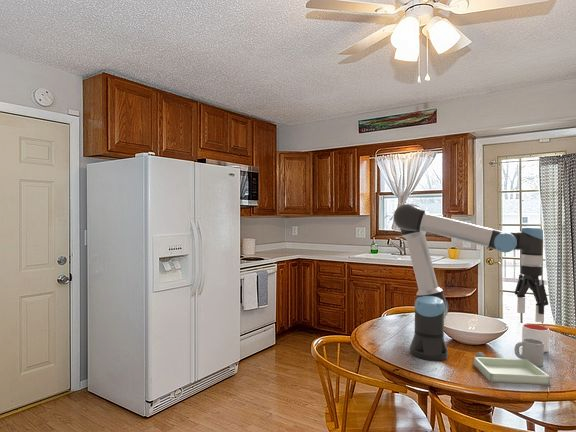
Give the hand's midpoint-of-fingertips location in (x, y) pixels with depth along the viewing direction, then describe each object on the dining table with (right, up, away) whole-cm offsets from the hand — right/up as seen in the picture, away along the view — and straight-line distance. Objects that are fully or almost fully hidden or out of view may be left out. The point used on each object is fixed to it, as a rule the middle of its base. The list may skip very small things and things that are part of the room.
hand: (529, 317), depth 160 cm
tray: (-16, -18, -14) cm, 28 cm away
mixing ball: (-21, -16, -2) cm, 26 cm away
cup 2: (-2, -18, -2) cm, 18 cm away
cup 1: (+11, -18, +13) cm, 25 cm away
